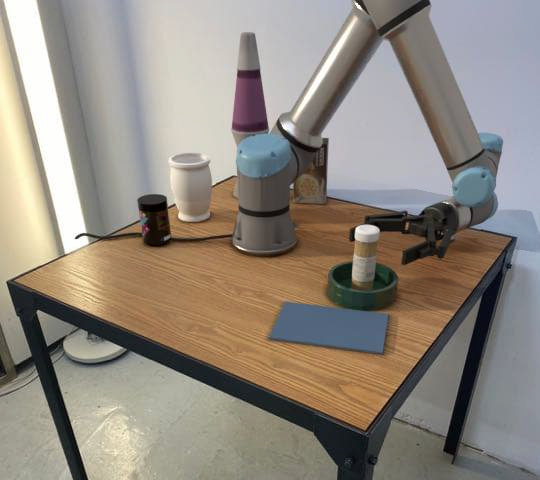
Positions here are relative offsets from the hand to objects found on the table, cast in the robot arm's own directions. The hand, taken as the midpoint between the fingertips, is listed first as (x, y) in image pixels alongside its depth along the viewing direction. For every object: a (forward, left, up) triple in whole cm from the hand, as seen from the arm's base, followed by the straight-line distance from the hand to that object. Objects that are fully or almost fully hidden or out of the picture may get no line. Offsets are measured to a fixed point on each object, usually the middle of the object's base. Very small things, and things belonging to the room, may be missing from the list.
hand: (376, 246), depth 110 cm
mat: (-6, -16, -9) cm, 20 cm away
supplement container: (-52, +12, -10) cm, 54 cm away
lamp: (-39, +49, -10) cm, 63 cm away
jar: (-49, +29, -10) cm, 57 cm away
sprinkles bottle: (-2, -2, -9) cm, 10 cm away
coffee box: (-22, +48, -10) cm, 53 cm away
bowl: (-2, -2, -9) cm, 10 cm away
